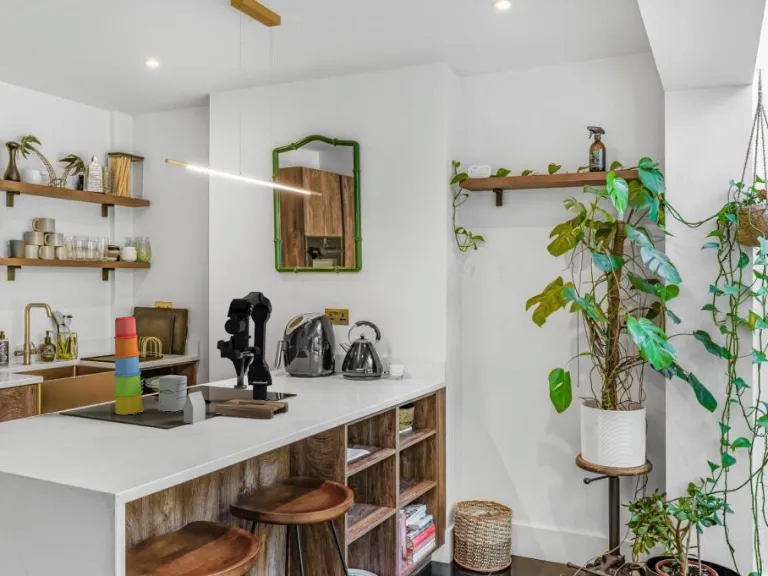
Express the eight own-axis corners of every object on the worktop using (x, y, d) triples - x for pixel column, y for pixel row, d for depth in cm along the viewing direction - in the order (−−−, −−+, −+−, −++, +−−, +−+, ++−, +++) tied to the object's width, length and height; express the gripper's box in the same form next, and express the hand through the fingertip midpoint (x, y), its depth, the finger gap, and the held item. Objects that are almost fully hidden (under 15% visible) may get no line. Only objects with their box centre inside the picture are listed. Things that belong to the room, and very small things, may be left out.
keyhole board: (235, 408, 257) (235, 398, 257) (288, 411, 251) (288, 402, 251) (215, 414, 244) (215, 405, 244) (270, 419, 238) (270, 408, 238)
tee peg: (238, 387, 252) (238, 359, 252) (249, 387, 251) (249, 360, 251) (231, 388, 248) (231, 361, 248) (242, 389, 246) (242, 361, 246)
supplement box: (157, 411, 249) (157, 377, 249) (170, 408, 256) (170, 374, 256) (174, 413, 247) (175, 378, 247) (187, 409, 254) (187, 375, 254)
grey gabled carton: (205, 420, 234) (205, 391, 234) (192, 424, 228) (193, 394, 228) (196, 419, 236) (196, 390, 235) (183, 423, 229) (183, 393, 229)
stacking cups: (138, 415, 242) (138, 317, 241) (109, 415, 242) (109, 317, 241) (148, 410, 252) (148, 316, 252) (120, 410, 252) (120, 316, 252)
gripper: (235, 331, 261) (234, 372, 261) (207, 333, 243) (207, 377, 243) (261, 331, 257) (260, 373, 257) (235, 334, 239) (234, 379, 239)
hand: (240, 375), depth 249 cm, fingers closed on tee peg, 2 cm apart
